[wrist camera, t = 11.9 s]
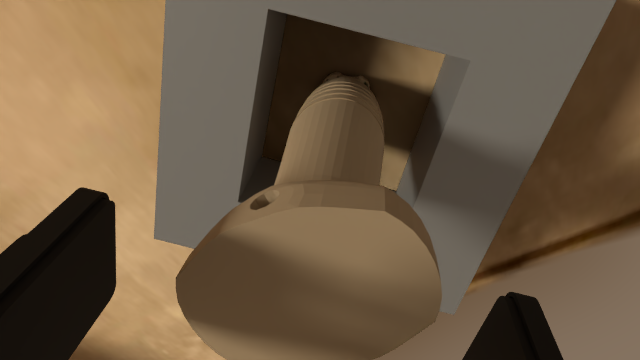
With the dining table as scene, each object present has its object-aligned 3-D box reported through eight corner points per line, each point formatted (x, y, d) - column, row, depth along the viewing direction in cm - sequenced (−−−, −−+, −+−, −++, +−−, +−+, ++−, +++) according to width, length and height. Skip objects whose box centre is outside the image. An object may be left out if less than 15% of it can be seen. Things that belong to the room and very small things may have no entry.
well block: (217, -113, 20) (171, -125, 16) (569, -22, 20) (620, -9, 16) (189, 190, 28) (153, 238, 24) (442, 254, 28) (454, 314, 24)
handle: (419, 117, 24) (467, 339, 11) (309, 158, 26) (238, 389, 13) (386, 30, 22) (396, 171, 9) (270, 81, 24) (139, 259, 11)
